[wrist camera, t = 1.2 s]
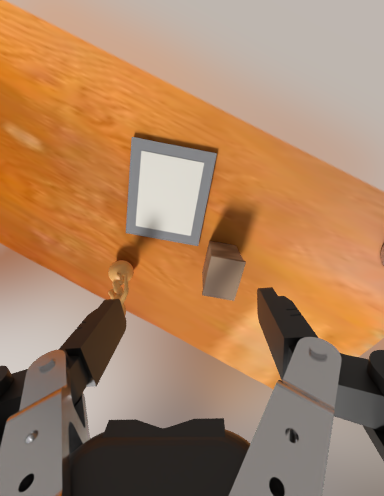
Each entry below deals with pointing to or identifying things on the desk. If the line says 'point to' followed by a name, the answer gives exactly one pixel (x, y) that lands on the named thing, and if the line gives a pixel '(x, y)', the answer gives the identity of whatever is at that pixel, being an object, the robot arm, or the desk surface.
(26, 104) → the desk surface
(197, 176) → the mat
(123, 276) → the figurine
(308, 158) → the desk surface
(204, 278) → the walnut box
